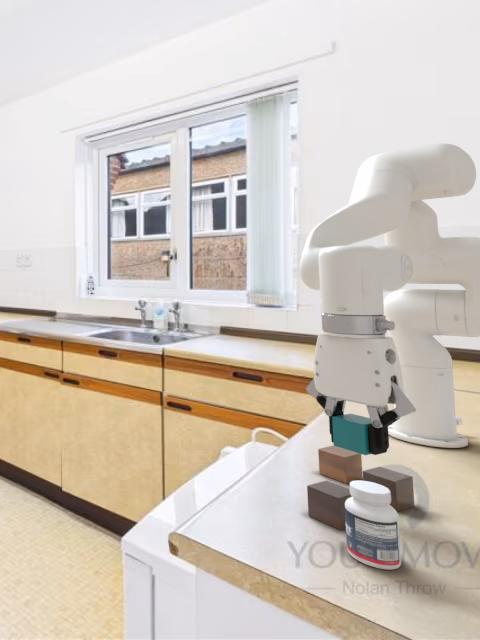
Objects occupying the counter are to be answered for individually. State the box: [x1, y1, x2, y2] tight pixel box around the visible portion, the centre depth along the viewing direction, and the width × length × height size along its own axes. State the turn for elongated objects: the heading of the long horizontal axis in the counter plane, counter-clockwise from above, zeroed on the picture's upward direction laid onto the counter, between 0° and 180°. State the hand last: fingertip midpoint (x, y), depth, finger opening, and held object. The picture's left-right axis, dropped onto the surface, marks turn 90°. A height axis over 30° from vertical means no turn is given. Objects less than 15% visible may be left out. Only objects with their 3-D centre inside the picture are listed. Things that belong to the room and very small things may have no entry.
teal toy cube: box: [332, 413, 372, 456], centre depth 72 cm, size 4×4×4 cm
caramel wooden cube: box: [317, 444, 363, 484], centre depth 84 cm, size 4×4×4 cm
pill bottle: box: [345, 479, 402, 571], centre depth 60 cm, size 5×5×9 cm
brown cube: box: [306, 480, 352, 531], centre depth 70 cm, size 4×4×4 cm
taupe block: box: [362, 466, 415, 512], centre depth 75 cm, size 4×4×4 cm
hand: (358, 446), depth 72 cm, fingers closed on teal toy cube, 4 cm apart
